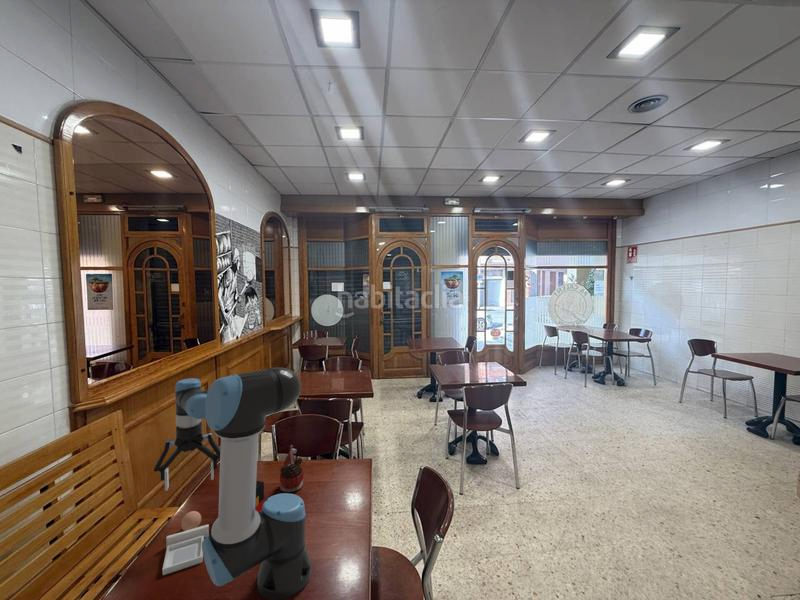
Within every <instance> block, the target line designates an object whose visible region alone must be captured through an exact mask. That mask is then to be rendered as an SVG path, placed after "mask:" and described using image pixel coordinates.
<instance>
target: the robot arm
mask: <svg viewBox="0 0 800 600" xmlns="http://www.w3.org/2000/svg"><path fill="white" fill-rule="evenodd" d="M201 383H202V382H201V379H199V378H193V377H192V378H190V377H189V378H184V379H180V380H178V381H177V382H176V383H175V390H174V396H175V397H174V398H175V425H176V428H175V431H176V432H175V435H176V439H175V440H174V439H173V440H171V439H167V440H166V441H165V444H164V449H163V450H162V452H161V454H160V456H159V458H158V460H157V462H156V463H155V465H154V469H153V471H154V472H155V473H156V472H159V473H160V481H161V482H164V491H166V492H167V491H168V490H169V487H170V483H169V466H170V465H172V462H173V461H174V460H175V459H176V458H177V457H178V455H180V454H181V452H183V453H186V452H189V451H192V452H193V451H195V450H198V451H200V452H201V453H202V454H204V455H206V457H208V458H210V480H211V481H213V480H214V477H215V475H214V473H215V471H214V470H217V468H218V460H219V481H218V482H219V484H218V485H219V486H218V517H217V518H216V520H215V521H214V522H213V524H212V526H211V529H210V532H211V533H210V535H209V536H208V537H205V538H204V540H203V542H202V552H203V559H204V563H205V566H206V570H207V573H208V575H209V578H210V579H211V581H212V583H213V584H214V586H216V587H222V586H224V585H226V584H228V583H230V582H233V581H234V580H235V579H237V578H239V577H240V576H242V575H244V574H245V573H247V572H249V571H250V570H252V569H253V568H255V567H256V566H258V565H259V564H260V566H259V569H258V573H257V578H256V580H257V582H256V583H257V590H258V592H259V594H260V595H261V596H262V597H263V598H264V599H267V600H285V599H288V598H291V597H292V596H295V595H296V594H298V593H299V592H301V591H302V590H303V589H304V588H305V587H306V586H307V585H308V583H309V581H310V579H311V576H312V559H311V557H310V554H309V552H308V549H307V547H306V516H307V515H306V510H305V509H306V507H305V502H304V500H303V499H302V497H300V496H299V495H296V494H294V493H289V492H286V493H285V492H283V493H277V494H275V495H271V496H270V497H268V498H267V499H266V500H264V504H263V506H262V510H261V511H260V512H257V511H256V510H255V498H256V481H257V475H258V454H259V453H258V452H259V451H258V450H259V448H258V447H259V434H260V433H261V432H262V431H263V430H264V429H265V427H266V420H267V419H266V418H267V416H270V415H273V414H276V413H280V412H283V411H285V410H287V409H288V408H290V407H291V406H293V405H294V403H296V402H297V401H298V398H299V397H300V394H301V391H302V382H301V380H300V377H299V375H298V374H297V373H296V372H294V371H293V370H291V369H289V368H286V367H271V368H265V369H260V370H254V371H249V372H243V373H237V374H235V373H233V374H229V375H228V376H224V377H220V378H217V379H216V380H214V381H213V382H212V383H211V384H210V385H209V387H208V389H205V390H202V384H201ZM204 419H205V421H206V424H207V426H208V427H209V429H210V430H212V431H213V433H214V434H215V435H216V436H217V437H219V439H220V446H219V445H218V444H217V443H216V441H215V439H214V438H213V434H212V432H208V433H206V434H203V432H202V430H203V427H202V420H204ZM203 440H205V441H206V442H208V444H209V445H210V446H211V448H212V450H213V451H214V452H213V451H212V450H211V449H210V448H209V447H208V446H205V445H204V443H203ZM174 445H175V446H176V449H175V450H174V452H172V454H170V456H169V457H168V459H167V460H166V461H165V462H164V460H165V458H166V456H167V455H168V452H169V449H171V448H172V447H173V446H174ZM163 462H164V463H163ZM162 463H163V464H162Z"/></svg>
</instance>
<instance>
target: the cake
mask: <svg viewBox="0 0 800 600" xmlns="http://www.w3.org/2000/svg"><path fill="white" fill-rule="evenodd" d="M293 447H294V446H293V445H291V444H290V448H289V449H290V450H289V451H288V454H287V456H286V458H285V459H284V462H283V465H282V467H281V468H280V474H279V483H280V485H279V489H280V491H282V492H283V493H285V492H286V493H289V492H295V491H298V490H300V489H301V488H303V486H304V470H303V468H302V466H301V465H302V462H303V458H301V457H300V456H298V457H296V458H295V457H294V455H295V454H296V453H297V449H296V448H293Z"/></svg>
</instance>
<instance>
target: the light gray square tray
mask: <svg viewBox="0 0 800 600" xmlns="http://www.w3.org/2000/svg"><path fill="white" fill-rule="evenodd" d="M204 539H205V538H204V535H202V536H199V537H196V538H192V539H189V540H186V541H182V542H179V543H176V544H172V545H169V546H166V551H165V555H164V561H163V565H162V576H165V575H168V574H172V573H174V572H177V571H181V570H183V569H186V568H189V567H192V566H196V565H199V564H201V563H203V559H204V557H203V552H202V542H203V540H204Z"/></svg>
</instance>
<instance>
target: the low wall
mask: <svg viewBox="0 0 800 600" xmlns="http://www.w3.org/2000/svg"><path fill="white" fill-rule="evenodd" d="M209 526H210V525H209V524H205V525H201V526H198V527H197V528H194V529H190V530H187V531H185V530H183V531H180V532H178V533H177V532H176V533H173V534H170V535H167V536H166V542H165V543H166V547H167V546H169V545H172V544H176V543H179V542H182V541H186V540H189V539H192V538H196V537H199V536H202V535H204V539H205V538H207V537H208V536H210V527H209Z"/></svg>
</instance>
